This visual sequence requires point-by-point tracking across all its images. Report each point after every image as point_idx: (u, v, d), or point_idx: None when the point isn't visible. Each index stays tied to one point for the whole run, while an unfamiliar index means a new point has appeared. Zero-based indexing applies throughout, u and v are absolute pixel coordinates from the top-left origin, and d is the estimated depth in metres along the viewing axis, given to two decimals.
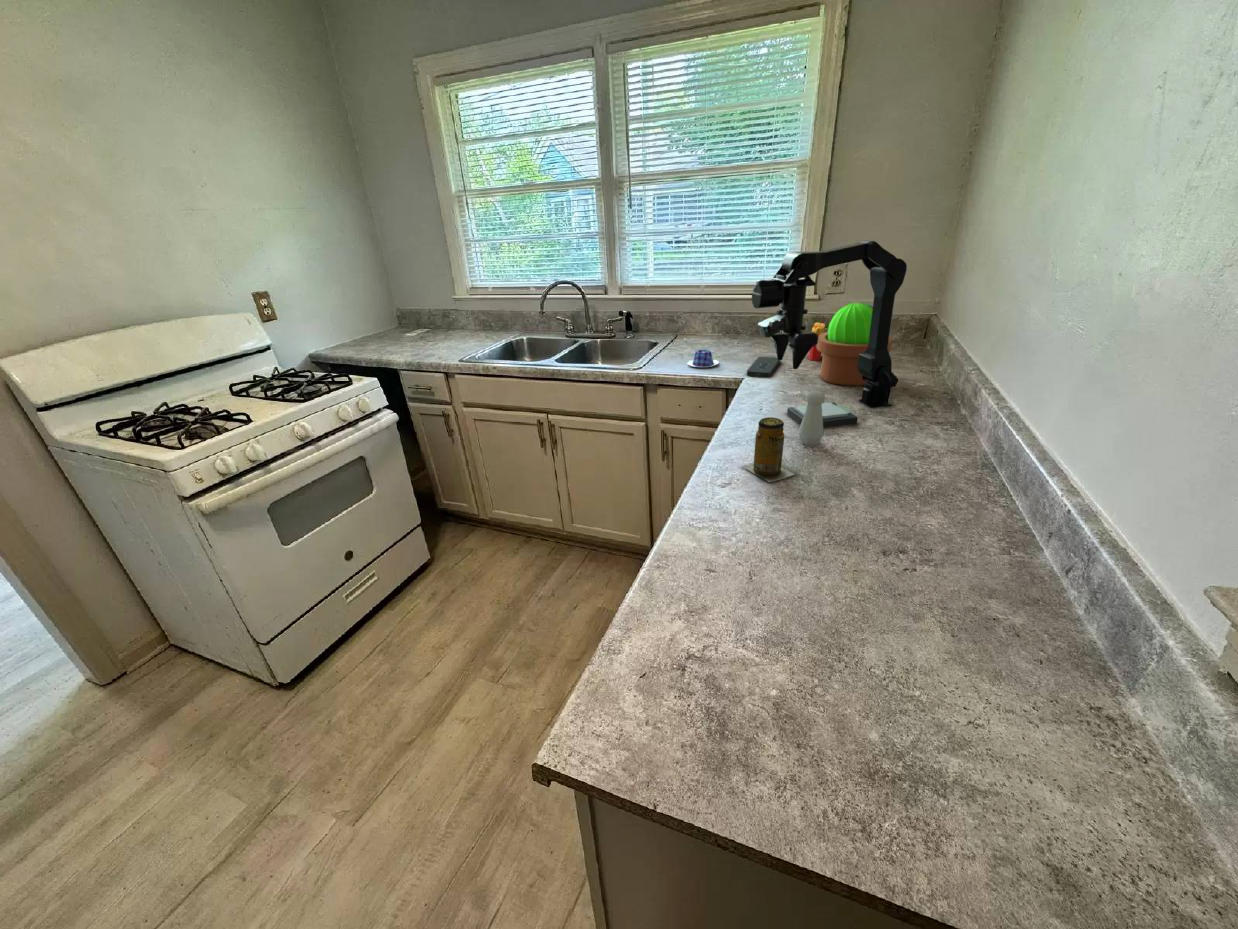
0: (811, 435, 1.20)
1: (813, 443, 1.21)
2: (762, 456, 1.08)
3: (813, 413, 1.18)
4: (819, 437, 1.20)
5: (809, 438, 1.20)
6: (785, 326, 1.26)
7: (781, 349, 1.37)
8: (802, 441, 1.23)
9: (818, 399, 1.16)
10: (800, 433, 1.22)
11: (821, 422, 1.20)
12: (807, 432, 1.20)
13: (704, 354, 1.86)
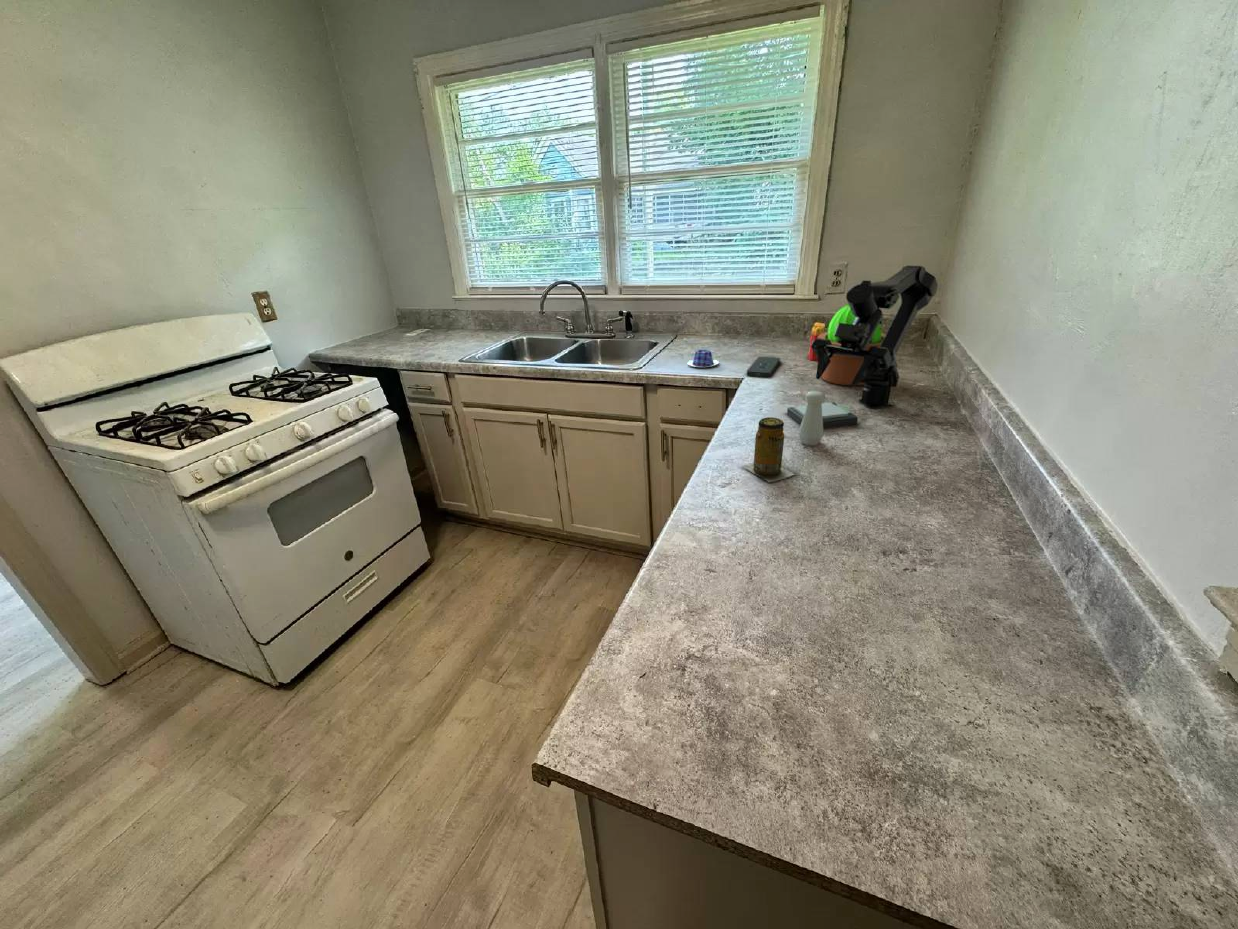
0: (811, 435, 1.20)
1: (813, 443, 1.21)
2: (762, 456, 1.08)
3: (813, 413, 1.18)
4: (819, 437, 1.20)
5: (809, 438, 1.20)
6: (863, 339, 1.19)
7: (822, 368, 1.26)
8: (802, 441, 1.23)
9: (818, 399, 1.16)
10: (800, 433, 1.22)
11: (821, 422, 1.20)
12: (807, 432, 1.20)
13: (704, 354, 1.86)
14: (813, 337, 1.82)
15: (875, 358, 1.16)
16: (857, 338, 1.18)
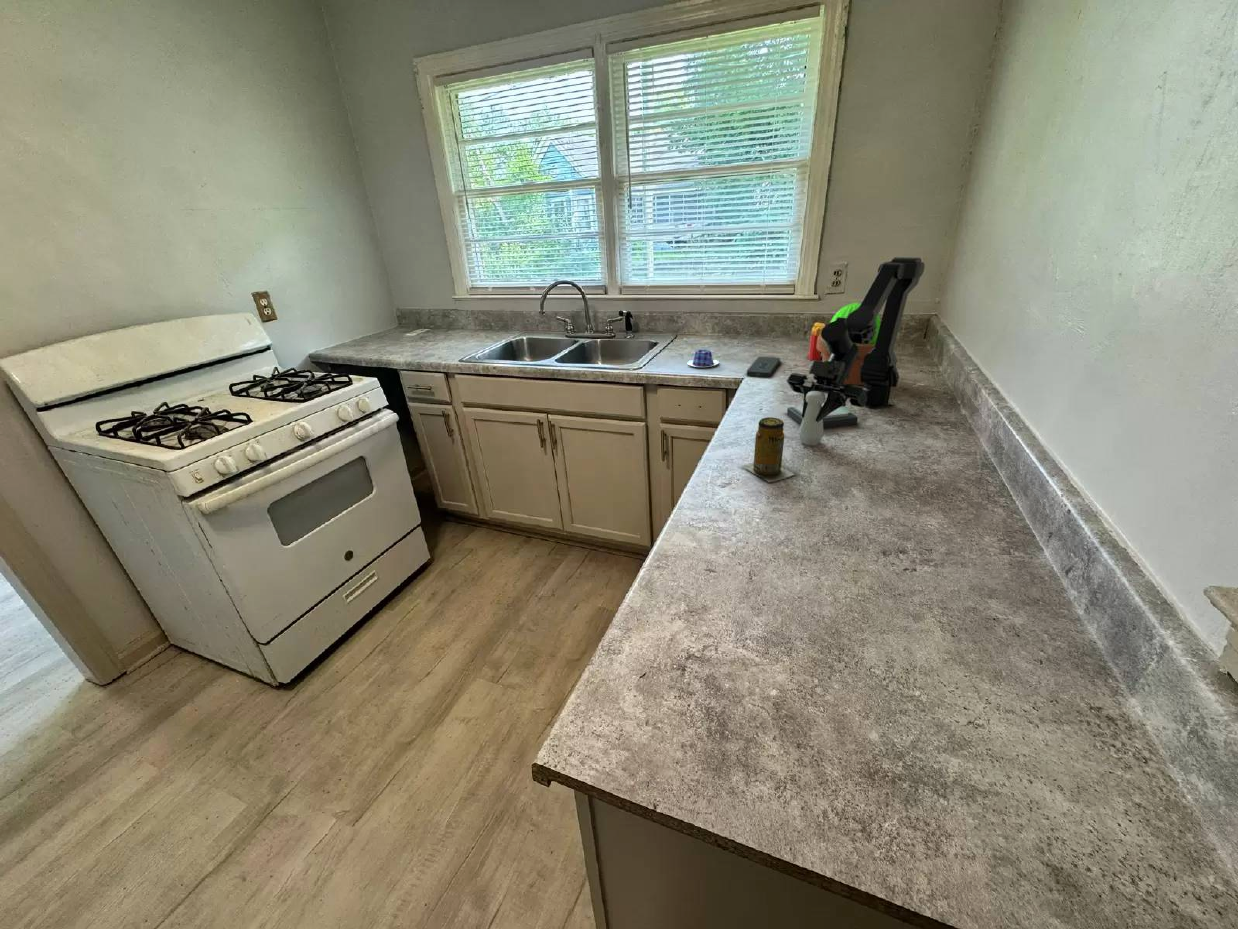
0: (811, 435, 1.20)
1: (813, 443, 1.21)
2: (762, 456, 1.08)
3: (813, 413, 1.18)
4: (819, 437, 1.20)
5: (809, 438, 1.20)
6: (838, 376, 1.17)
7: None
8: (802, 441, 1.23)
9: (818, 400, 1.16)
10: (800, 433, 1.22)
11: (821, 422, 1.20)
12: (807, 432, 1.20)
13: (704, 354, 1.86)
14: (813, 337, 1.82)
15: (838, 395, 1.15)
16: (832, 376, 1.16)
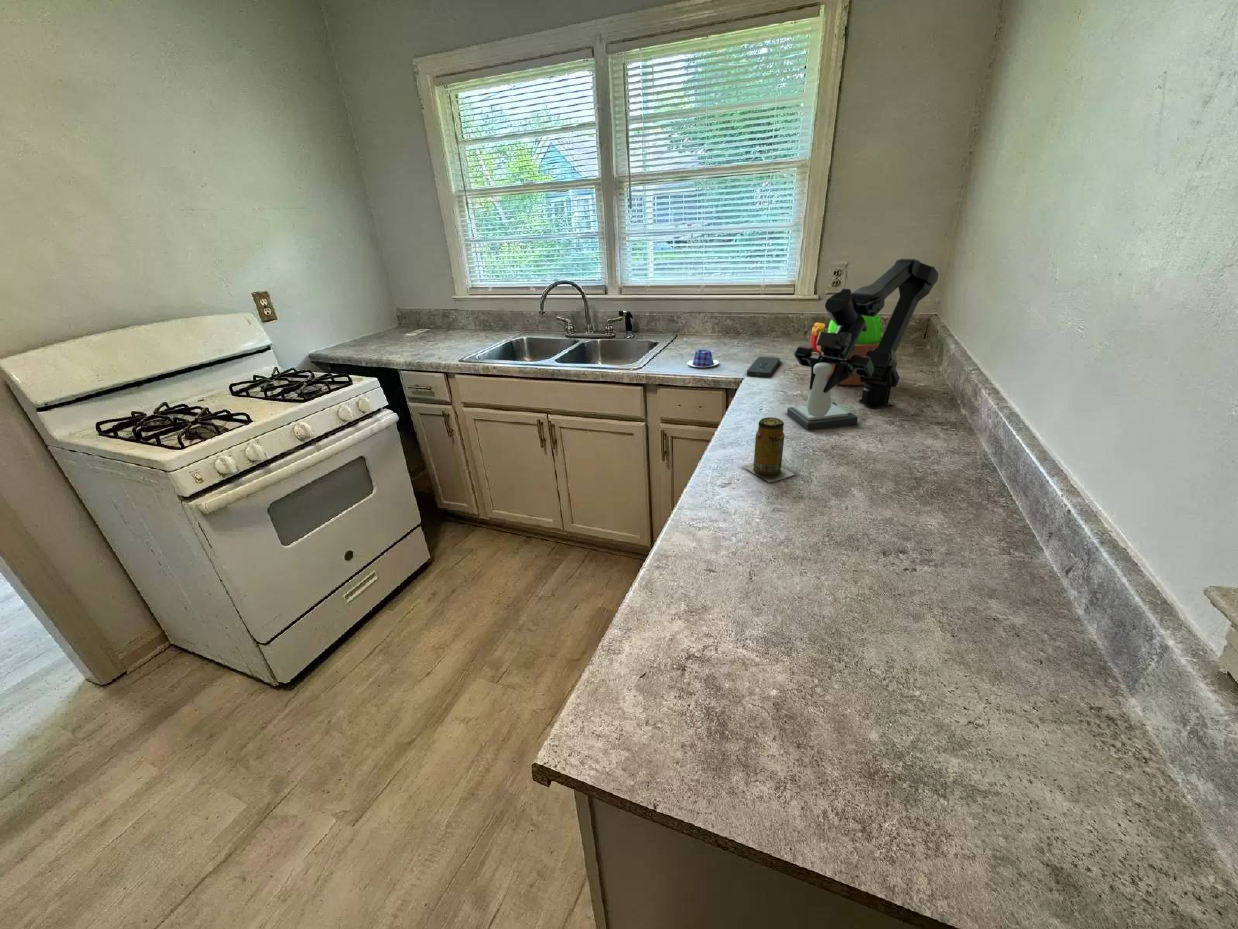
0: (819, 406, 1.22)
1: (821, 414, 1.23)
2: (762, 456, 1.08)
3: (821, 384, 1.20)
4: (827, 408, 1.22)
5: (817, 410, 1.22)
6: (845, 347, 1.18)
7: None
8: (810, 413, 1.25)
9: (826, 370, 1.18)
10: (808, 405, 1.24)
11: (829, 393, 1.22)
12: (815, 403, 1.22)
13: (704, 354, 1.86)
14: (813, 337, 1.82)
15: (845, 365, 1.17)
16: (839, 347, 1.17)
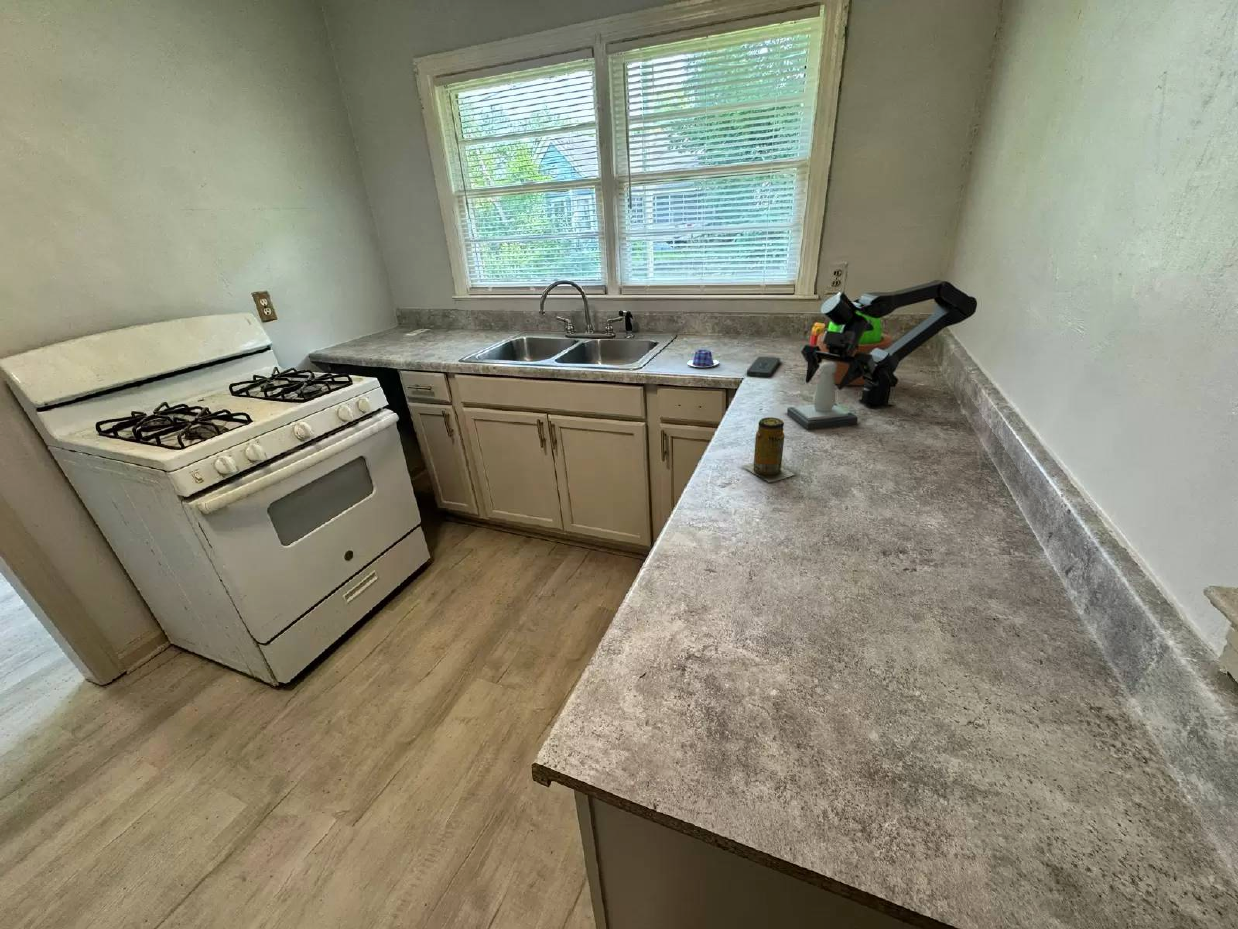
0: (824, 402, 1.31)
1: (826, 410, 1.33)
2: (762, 456, 1.08)
3: (826, 381, 1.30)
4: (832, 404, 1.32)
5: (822, 405, 1.32)
6: (849, 345, 1.28)
7: (811, 373, 1.34)
8: (816, 408, 1.34)
9: (831, 369, 1.28)
10: (814, 401, 1.33)
11: (834, 390, 1.31)
12: (821, 399, 1.31)
13: (704, 354, 1.86)
14: (813, 337, 1.82)
15: (860, 364, 1.24)
16: (843, 345, 1.27)
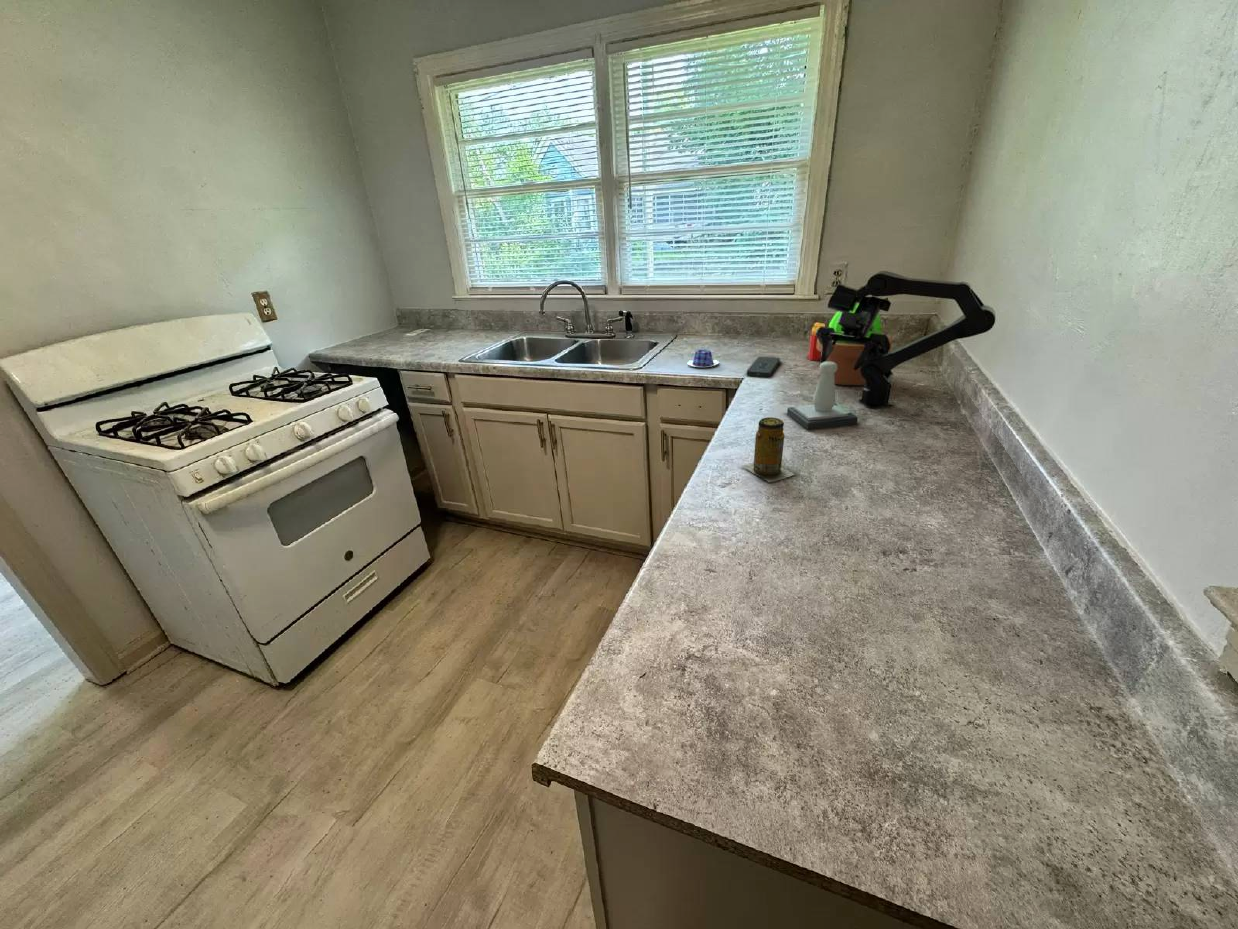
0: (824, 402, 1.31)
1: (826, 410, 1.33)
2: (762, 456, 1.08)
3: (826, 381, 1.30)
4: (832, 404, 1.32)
5: (822, 405, 1.32)
6: (864, 326, 1.30)
7: (826, 354, 1.37)
8: (816, 408, 1.34)
9: (831, 369, 1.28)
10: (814, 401, 1.33)
11: (834, 390, 1.31)
12: (821, 399, 1.31)
13: (704, 354, 1.86)
14: (813, 337, 1.82)
15: (875, 344, 1.26)
16: (859, 326, 1.29)
